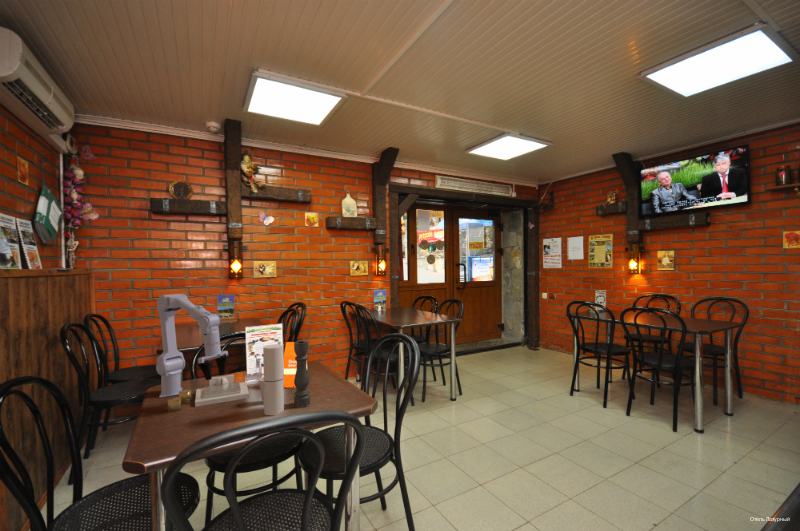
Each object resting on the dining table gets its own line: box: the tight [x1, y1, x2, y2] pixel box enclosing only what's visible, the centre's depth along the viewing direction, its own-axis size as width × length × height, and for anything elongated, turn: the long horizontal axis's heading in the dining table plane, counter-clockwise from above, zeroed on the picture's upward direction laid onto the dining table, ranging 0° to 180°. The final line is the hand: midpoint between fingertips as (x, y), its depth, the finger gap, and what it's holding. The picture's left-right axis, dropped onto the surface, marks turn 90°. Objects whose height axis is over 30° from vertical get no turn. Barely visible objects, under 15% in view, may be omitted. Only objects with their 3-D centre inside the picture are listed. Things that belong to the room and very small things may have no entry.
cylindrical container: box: [262, 343, 285, 416], centre depth 138 cm, size 7×7×25 cm
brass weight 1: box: [167, 396, 182, 413], centre depth 142 cm, size 4×4×4 cm
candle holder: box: [293, 340, 311, 408], centre depth 145 cm, size 6×6×25 cm
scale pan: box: [203, 381, 241, 398], centre depth 157 cm, size 12×14×1 cm
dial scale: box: [194, 374, 250, 408], centre depth 157 cm, size 18×20×6 cm
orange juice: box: [283, 341, 308, 388], centre depth 170 cm, size 8×9×20 cm
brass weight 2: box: [178, 388, 192, 404], centre depth 151 cm, size 4×4×4 cm
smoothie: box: [258, 376, 264, 405], centre depth 148 cm, size 6×6×14 cm
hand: (215, 377), depth 148 cm, fingers open, 7 cm apart
